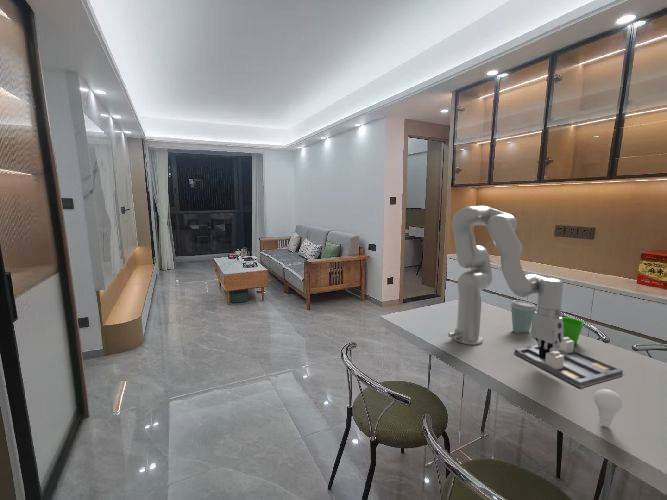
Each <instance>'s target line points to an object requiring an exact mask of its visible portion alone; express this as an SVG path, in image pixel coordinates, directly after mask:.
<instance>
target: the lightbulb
mask: <svg viewBox="0 0 667 500" xmlns="http://www.w3.org/2000/svg"><path fill="white" fill-rule="evenodd" d="M593 398H594V403H595V405H596V406H597V409H598V416H599V418H598V419H599V420H598V423H599V425H601V426H602V427H603V428H610V427H611V425H612V421H613V419H614V417H615V415H616V414H617V413H618V412H620V410H622V408H623V400H622V397H621V396H620V395H619V394H618V393H617V392H615V391H614V390H612V389H610V388H609V389H608V388H601V389H599V390H597V391H596V392H595V393H594V397H593Z"/></svg>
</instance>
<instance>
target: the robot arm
mask: <svg viewBox="0 0 667 500" xmlns="http://www.w3.org/2000/svg"><path fill="white" fill-rule="evenodd" d="M473 226H483V227H484V226H485V227H486V230H487V231H488V234H489V236H490V238H491V239H492V241H493V244H494V246H495V247H496V250H497V251H498V253H499V255H500V265H501V266H500V268H501V271H502V275H503V277H504V280H505V282H506V284H507V286H508V288H509V289H510V291H512V293H513V294H514V295H515V296H518V297H522V298H525V297H528V296H530V295H534V294H537V300H536V310H535V314H534V316H533V320H532V323H531V327H530V334H531V338H532V339H533V340H535V341H536V342H537V345H538V346H539V357H541V358H543V359H544V358H546V353H548V352H550V348H552V347H554V348H559V347H560V343H561V342H563V320H562V317H564V316H563V315H564V313H563V312H562V311H561V310H562V300H563V299H562V298H563V289H564V283H563V280H560V279H558V278H553V277H545V276H541V275H538V274H534V273H527V274H526V273H525V271H524V270H523V267H522V264H521V255H522V252H523V245H522V243H521V241H520V240H519V238H518V236H517V234H516V232H515V231H516V229H517V228H518V221H517V219H516V217H514V215H512V214H511V213H508V212H504V211H501V210H498V209H495V208H492V207H490V206H487V205H469V206H465V207H463V208H461V209H459V210H458V211H457V212H455V214H454V215H453V217H452V220H451V227H452V233H453V239H454V245H455V253H456V260H457V263H458V265H459V266H460V267H461V268H464V269H470V270H467V271H464V272H462V274H460V276H459V277H458V279H457V283H456V284H457V290H458V291H457V292H458V305H457V307H458V308H457V321H456V322H457V323H456V328H455V329H454V331H452V332H448V333H447V336H448V337H449V338H452V339H453V340H455V341H456V342H458V343H461V344H464V345H469V346H470V345H471V346H476V345H480V344H482V343H483V341H484V340H483V339H484V337H482V336H481V335H480V331H481V329H480V328H481V317H482V316H481V315H482V297H481V291H483V290H485V289H487V288H489V287H490V286H491V285H492V282H493V273H492V266H491V259H490V254H489V252H488V250H487V249H486V248H485V247H484V246H482V245H479V244H477V241H476V236H475V233H474V231H473V229H472V228H473Z"/></svg>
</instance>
